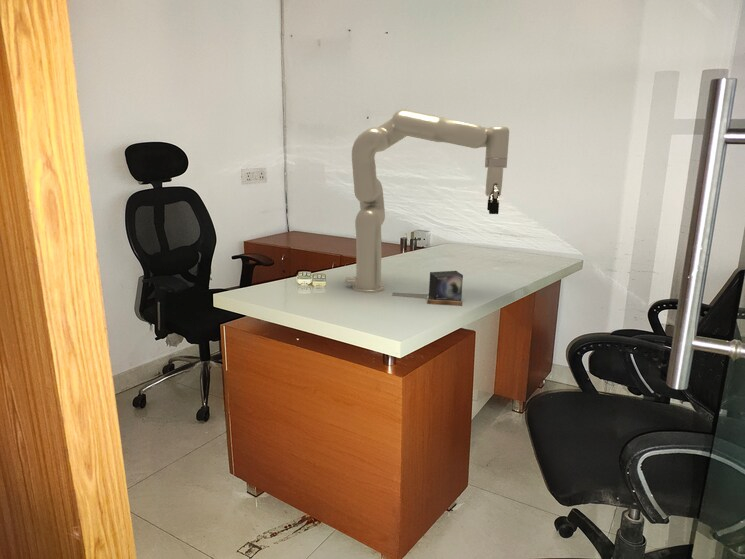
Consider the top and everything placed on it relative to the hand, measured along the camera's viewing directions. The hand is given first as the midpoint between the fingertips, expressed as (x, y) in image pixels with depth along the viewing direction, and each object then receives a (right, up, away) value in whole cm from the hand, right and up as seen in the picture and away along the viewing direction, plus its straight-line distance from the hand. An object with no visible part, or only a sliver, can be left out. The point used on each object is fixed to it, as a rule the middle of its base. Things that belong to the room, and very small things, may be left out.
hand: (492, 212), depth 186 cm
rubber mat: (-30, -31, +3) cm, 43 cm away
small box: (-17, -32, +1) cm, 37 cm away
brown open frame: (-17, -32, +1) cm, 36 cm away
